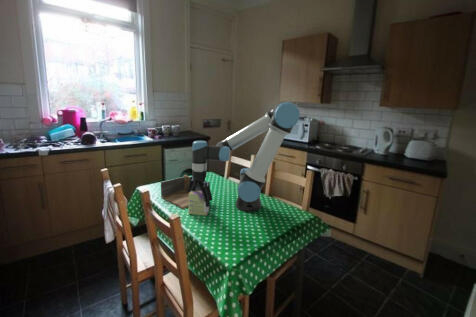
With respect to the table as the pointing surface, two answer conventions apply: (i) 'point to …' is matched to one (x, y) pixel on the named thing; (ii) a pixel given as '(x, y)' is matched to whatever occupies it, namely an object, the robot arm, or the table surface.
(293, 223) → the table surface
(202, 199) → the box
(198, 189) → the grey brown open container
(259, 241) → the table surface
